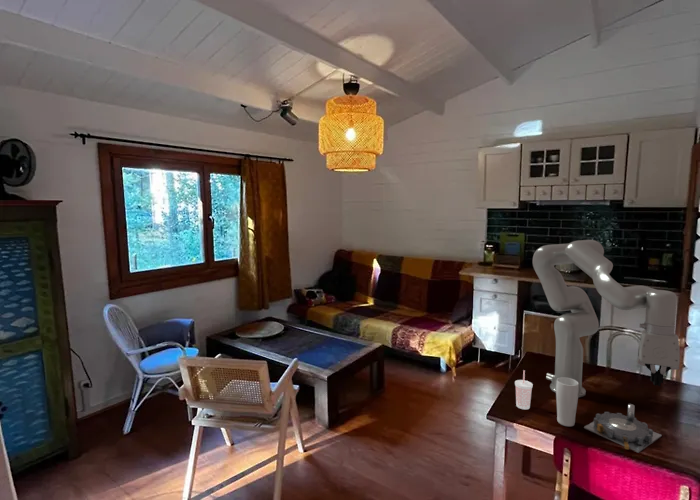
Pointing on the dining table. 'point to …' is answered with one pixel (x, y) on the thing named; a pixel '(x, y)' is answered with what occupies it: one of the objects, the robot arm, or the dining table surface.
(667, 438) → the dining table surface
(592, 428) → the base plate
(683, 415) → the dining table surface
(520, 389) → the beverage cup
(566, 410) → the drinking glass
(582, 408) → the dining table surface
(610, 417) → the sprocket
